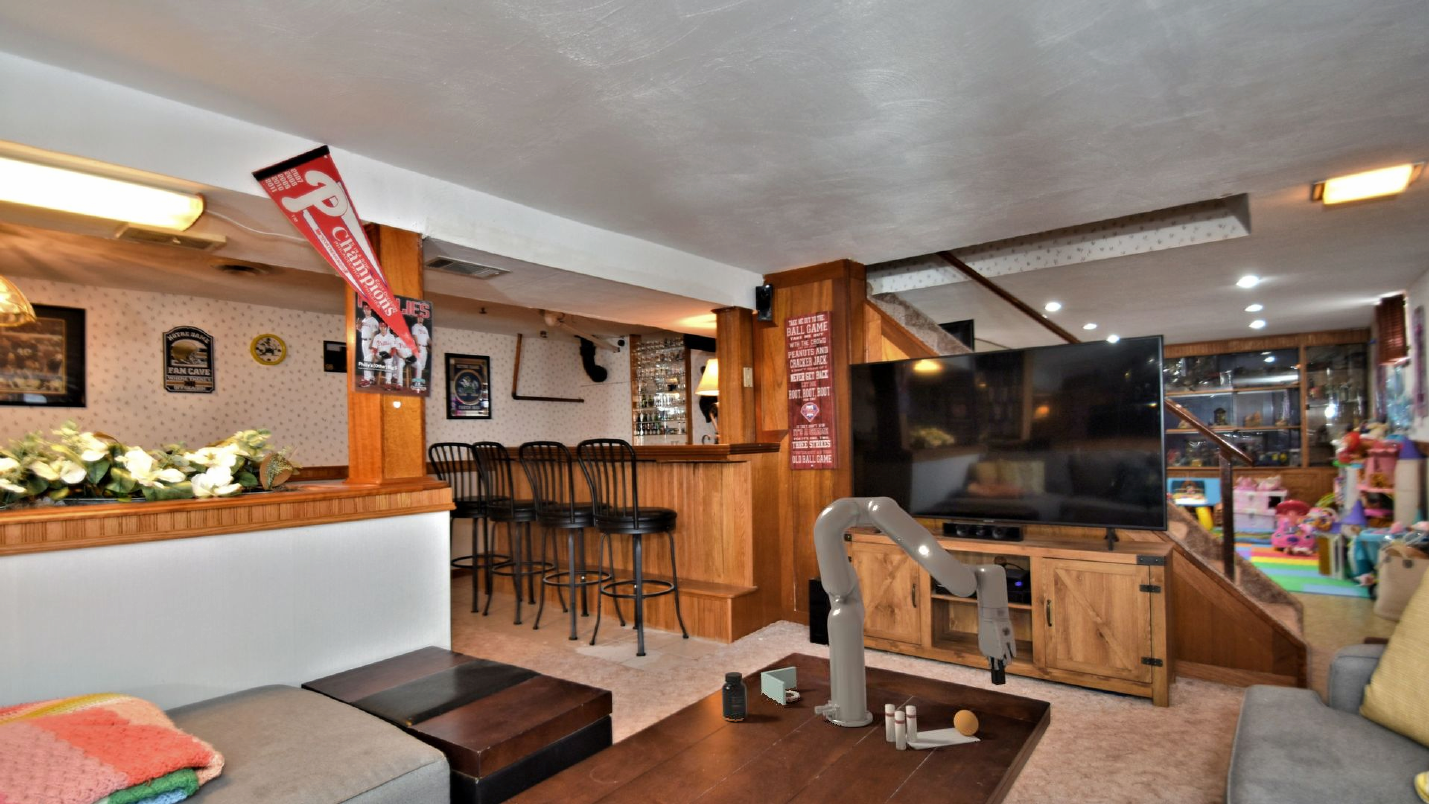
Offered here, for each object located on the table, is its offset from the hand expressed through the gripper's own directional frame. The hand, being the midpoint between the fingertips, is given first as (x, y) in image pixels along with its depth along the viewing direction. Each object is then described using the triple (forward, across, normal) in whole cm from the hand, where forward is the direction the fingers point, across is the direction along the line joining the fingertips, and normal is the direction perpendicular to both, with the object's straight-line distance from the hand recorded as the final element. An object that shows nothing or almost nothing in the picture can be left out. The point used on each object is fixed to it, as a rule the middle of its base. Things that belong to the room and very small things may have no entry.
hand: (998, 683), depth 186 cm
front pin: (+11, 0, +26) cm, 28 cm away
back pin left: (+11, +3, +30) cm, 32 cm away
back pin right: (+11, -2, +30) cm, 32 cm away
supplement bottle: (+10, +29, +64) cm, 71 cm away
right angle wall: (+11, +40, +44) cm, 61 cm away
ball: (+9, 0, +10) cm, 13 cm away
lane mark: (+12, 0, +18) cm, 22 cm away
